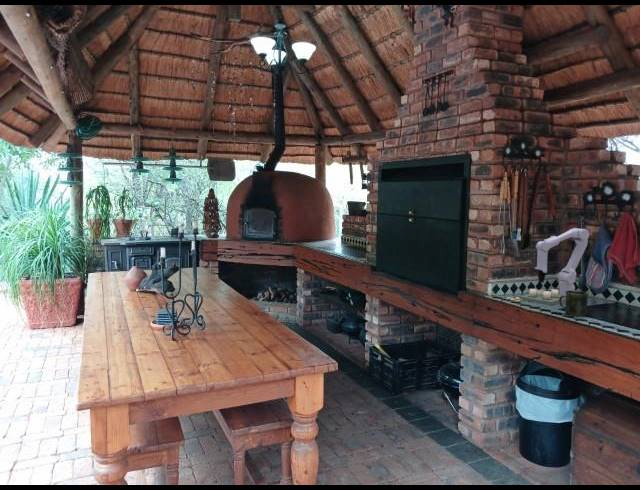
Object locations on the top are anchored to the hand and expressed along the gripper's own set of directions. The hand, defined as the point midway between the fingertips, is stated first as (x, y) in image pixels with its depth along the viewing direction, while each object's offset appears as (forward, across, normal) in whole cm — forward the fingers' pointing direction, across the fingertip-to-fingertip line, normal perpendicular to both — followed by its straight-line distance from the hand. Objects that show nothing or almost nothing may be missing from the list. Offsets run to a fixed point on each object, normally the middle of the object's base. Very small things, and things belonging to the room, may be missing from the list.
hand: (541, 282), depth 313 cm
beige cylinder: (+10, 0, 0) cm, 10 cm away
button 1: (+8, +6, +6) cm, 12 cm away
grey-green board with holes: (+10, +6, 0) cm, 12 cm away
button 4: (+8, +6, -6) cm, 12 cm away
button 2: (+8, +12, 0) cm, 15 cm away
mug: (+10, +41, +5) cm, 42 cm away
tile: (+10, +5, -16) cm, 20 cm away
